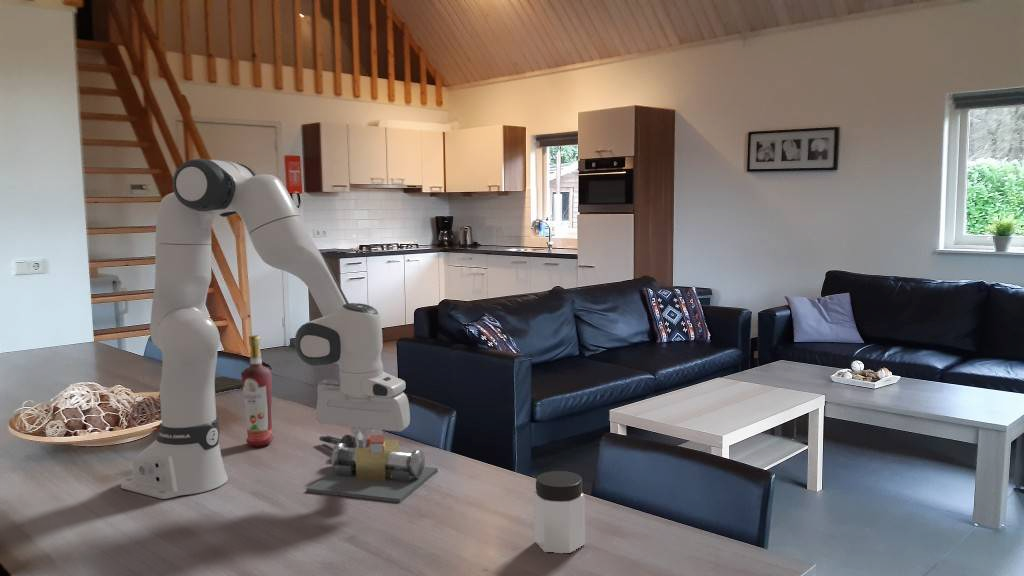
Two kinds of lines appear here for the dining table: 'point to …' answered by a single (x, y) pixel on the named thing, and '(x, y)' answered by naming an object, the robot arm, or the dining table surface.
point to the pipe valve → (378, 463)
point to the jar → (559, 512)
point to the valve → (340, 440)
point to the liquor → (257, 397)
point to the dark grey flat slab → (227, 384)
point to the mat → (369, 486)
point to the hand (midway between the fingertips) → (363, 447)
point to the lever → (376, 441)
